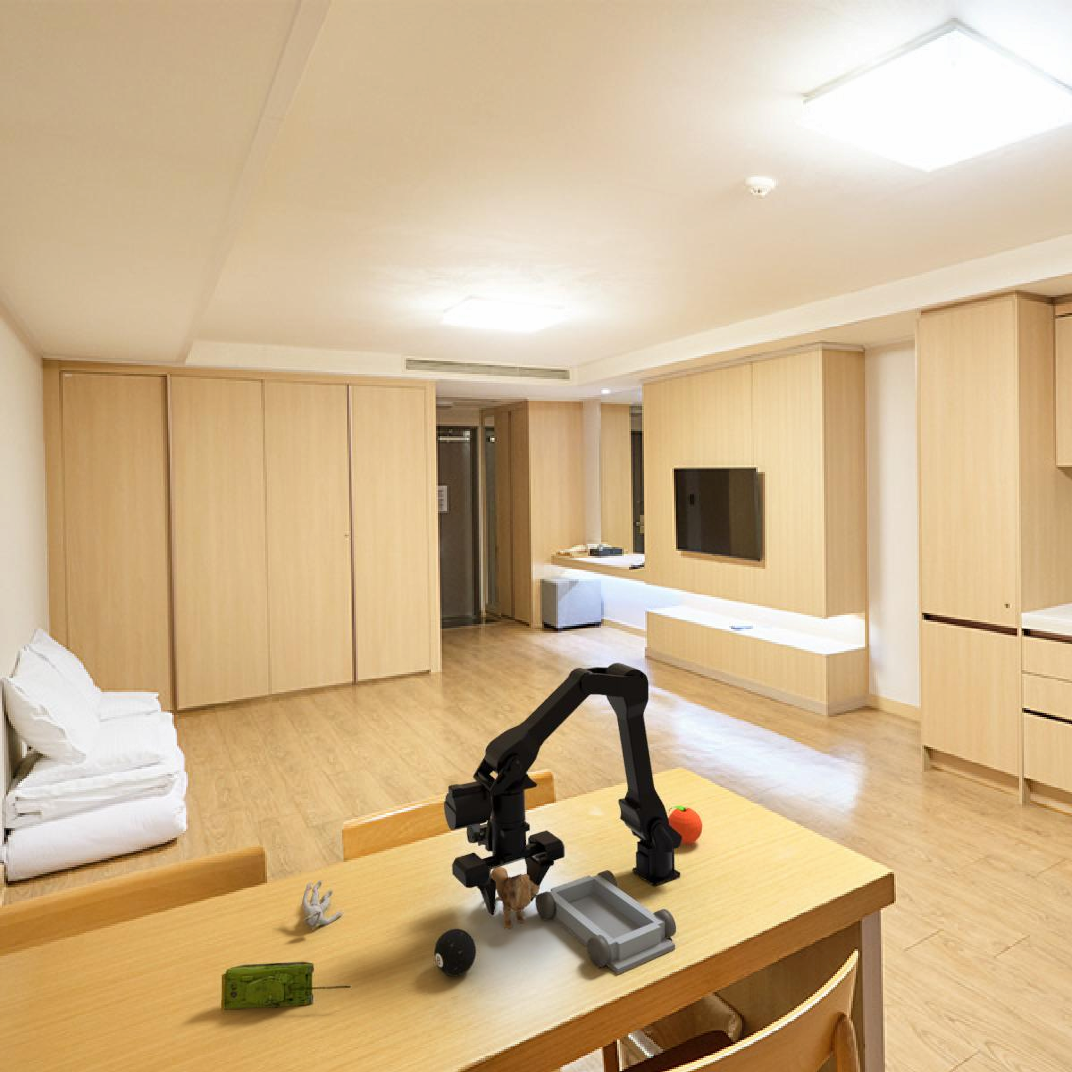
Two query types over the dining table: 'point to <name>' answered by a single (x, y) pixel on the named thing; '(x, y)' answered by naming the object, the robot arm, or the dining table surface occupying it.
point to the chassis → (608, 921)
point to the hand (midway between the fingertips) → (511, 907)
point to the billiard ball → (455, 952)
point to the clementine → (686, 824)
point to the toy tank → (268, 985)
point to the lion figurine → (513, 893)
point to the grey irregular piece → (317, 907)
